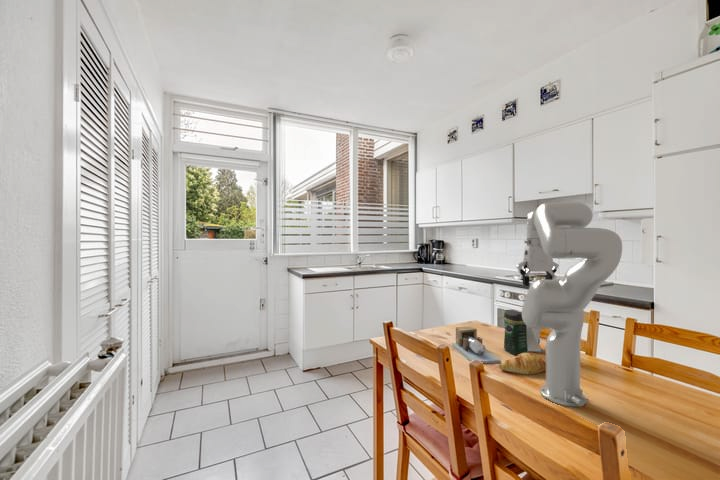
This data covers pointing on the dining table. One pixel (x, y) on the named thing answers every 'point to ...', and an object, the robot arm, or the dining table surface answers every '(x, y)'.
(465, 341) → the guide
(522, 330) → the coffee jar
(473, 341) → the tube
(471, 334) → the socket
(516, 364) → the croissant
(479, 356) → the board
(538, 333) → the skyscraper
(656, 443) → the dining table surface
